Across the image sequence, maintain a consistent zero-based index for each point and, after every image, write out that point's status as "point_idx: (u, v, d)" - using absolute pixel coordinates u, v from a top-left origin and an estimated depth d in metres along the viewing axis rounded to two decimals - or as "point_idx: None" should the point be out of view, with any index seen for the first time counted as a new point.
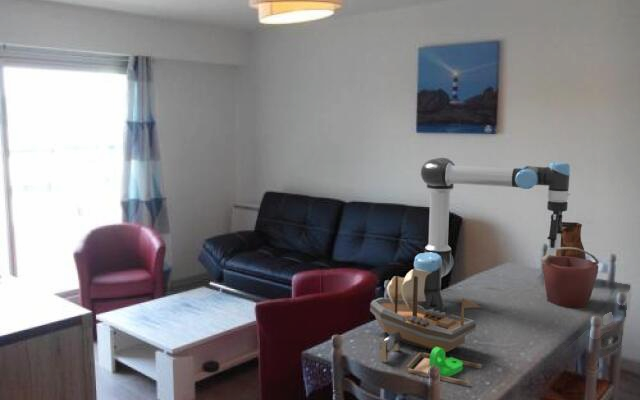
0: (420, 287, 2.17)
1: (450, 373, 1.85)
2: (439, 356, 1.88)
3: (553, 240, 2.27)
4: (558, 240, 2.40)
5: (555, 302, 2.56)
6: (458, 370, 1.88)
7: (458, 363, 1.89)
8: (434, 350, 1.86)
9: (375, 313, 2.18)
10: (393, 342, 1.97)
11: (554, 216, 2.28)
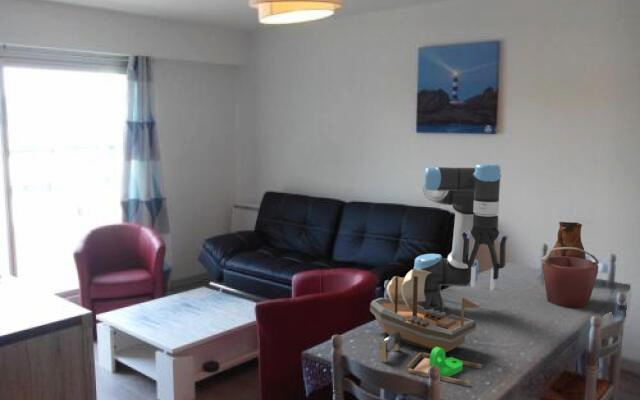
0: (420, 287, 2.17)
1: (450, 373, 1.85)
2: (439, 356, 1.88)
3: None
4: None
5: (555, 302, 2.56)
6: (458, 370, 1.88)
7: (458, 363, 1.89)
8: (434, 350, 1.86)
9: (375, 313, 2.18)
10: (393, 342, 1.97)
11: None
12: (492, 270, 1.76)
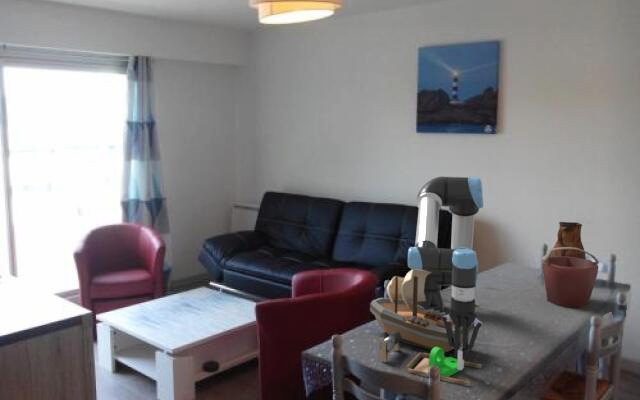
0: (420, 287, 2.17)
1: (449, 373, 1.85)
2: (438, 356, 1.88)
3: None
4: None
5: (555, 302, 2.56)
6: (457, 370, 1.88)
7: None
8: (433, 350, 1.86)
9: (375, 313, 2.18)
10: (393, 342, 1.97)
11: None
12: (461, 351, 1.84)
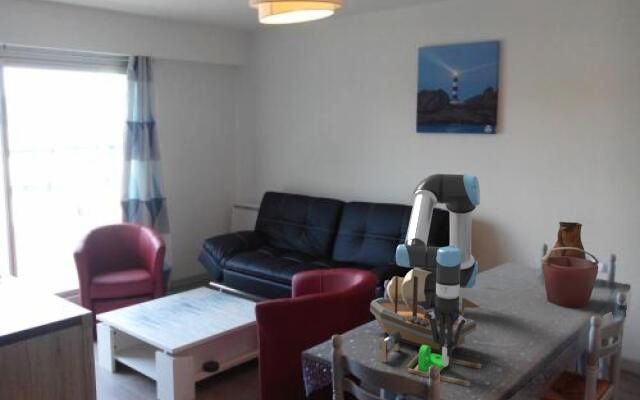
0: (420, 287, 2.17)
1: None
2: (425, 354, 1.90)
3: None
4: None
5: (555, 302, 2.56)
6: None
7: None
8: (422, 348, 1.87)
9: (375, 313, 2.18)
10: (393, 342, 1.97)
11: None
12: (446, 348, 1.87)
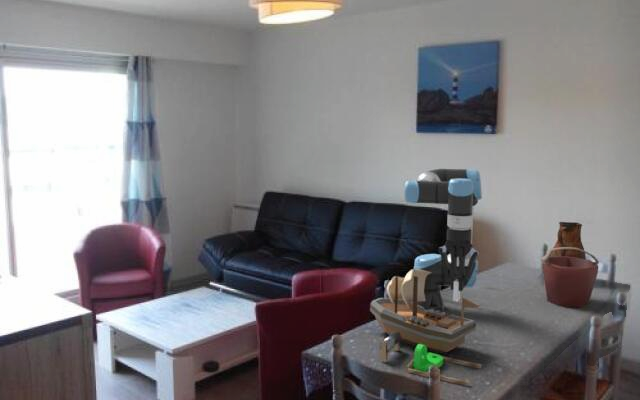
0: (420, 287, 2.17)
1: None
2: (421, 353, 1.91)
3: None
4: None
5: (555, 302, 2.56)
6: (440, 364, 1.91)
7: (438, 358, 1.93)
8: (418, 347, 1.88)
9: (375, 313, 2.18)
10: (393, 342, 1.97)
11: None
12: (457, 282, 1.82)
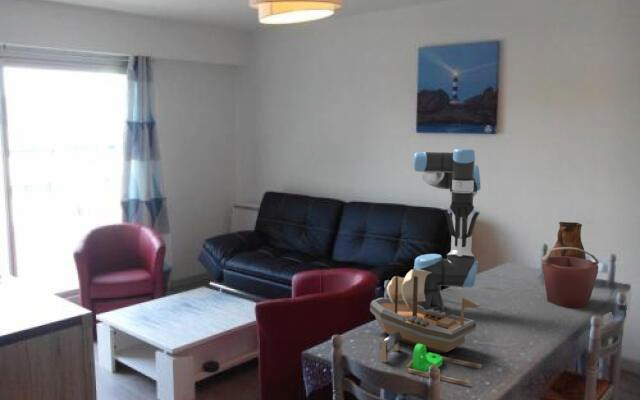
0: (420, 287, 2.17)
1: None
2: (421, 352, 1.91)
3: None
4: None
5: (555, 302, 2.56)
6: (439, 364, 1.91)
7: (438, 358, 1.93)
8: (417, 347, 1.89)
9: (375, 313, 2.18)
10: (393, 342, 1.97)
11: None
12: (461, 239, 2.09)
